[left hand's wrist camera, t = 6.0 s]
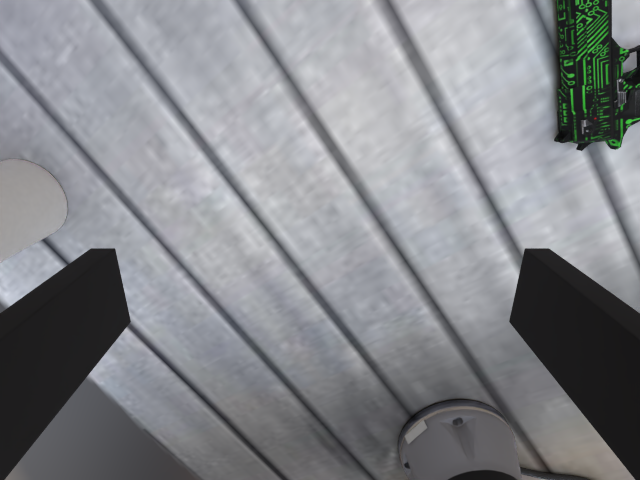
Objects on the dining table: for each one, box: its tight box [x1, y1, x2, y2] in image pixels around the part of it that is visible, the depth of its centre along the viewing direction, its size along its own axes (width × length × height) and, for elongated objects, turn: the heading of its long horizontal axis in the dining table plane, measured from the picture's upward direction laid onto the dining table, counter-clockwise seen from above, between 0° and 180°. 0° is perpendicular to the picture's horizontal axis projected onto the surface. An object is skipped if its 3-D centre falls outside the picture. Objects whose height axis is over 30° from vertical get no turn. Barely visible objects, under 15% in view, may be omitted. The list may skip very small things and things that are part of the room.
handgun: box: [554, 0, 640, 151], centre depth 34 cm, size 16×3×15 cm
